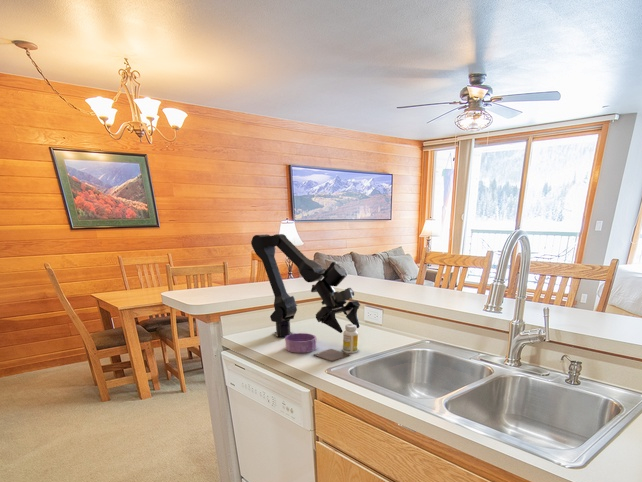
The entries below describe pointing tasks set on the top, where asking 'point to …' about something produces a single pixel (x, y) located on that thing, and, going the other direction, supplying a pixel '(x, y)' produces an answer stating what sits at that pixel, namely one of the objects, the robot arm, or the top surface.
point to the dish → (300, 342)
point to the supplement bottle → (350, 339)
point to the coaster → (331, 355)
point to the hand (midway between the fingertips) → (350, 329)
